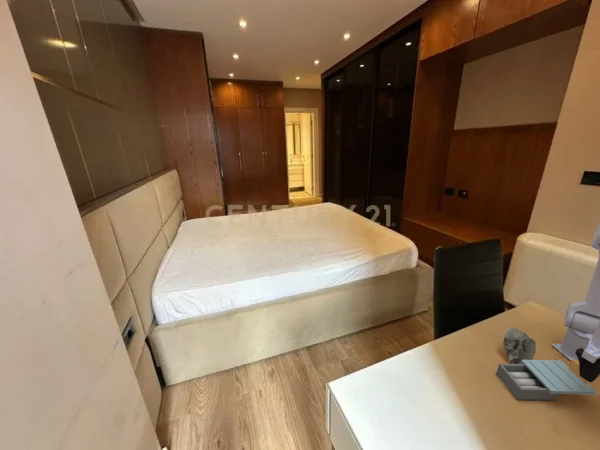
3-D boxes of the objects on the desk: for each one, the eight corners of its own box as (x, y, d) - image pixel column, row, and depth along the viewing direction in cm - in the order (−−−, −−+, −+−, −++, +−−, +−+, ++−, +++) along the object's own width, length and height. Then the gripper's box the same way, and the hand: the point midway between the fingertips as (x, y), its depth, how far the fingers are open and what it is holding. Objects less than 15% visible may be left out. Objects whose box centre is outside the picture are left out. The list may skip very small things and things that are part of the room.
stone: (540, 341, 72) (512, 318, 81) (508, 358, 74) (485, 333, 84) (553, 359, 74) (524, 334, 84) (522, 375, 77) (497, 349, 86)
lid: (562, 363, 72) (567, 351, 71) (598, 394, 63) (604, 382, 61) (520, 362, 73) (524, 350, 71) (550, 393, 64) (555, 381, 62)
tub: (530, 374, 73) (534, 364, 72) (556, 401, 65) (560, 390, 64) (496, 373, 73) (499, 363, 72) (517, 400, 66) (521, 389, 65)
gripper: (611, 313, 62) (592, 354, 67) (573, 326, 59) (556, 368, 63) (655, 333, 56) (631, 377, 60) (616, 348, 52) (593, 394, 57)
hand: (595, 374), depth 61 cm, fingers open, 7 cm apart
